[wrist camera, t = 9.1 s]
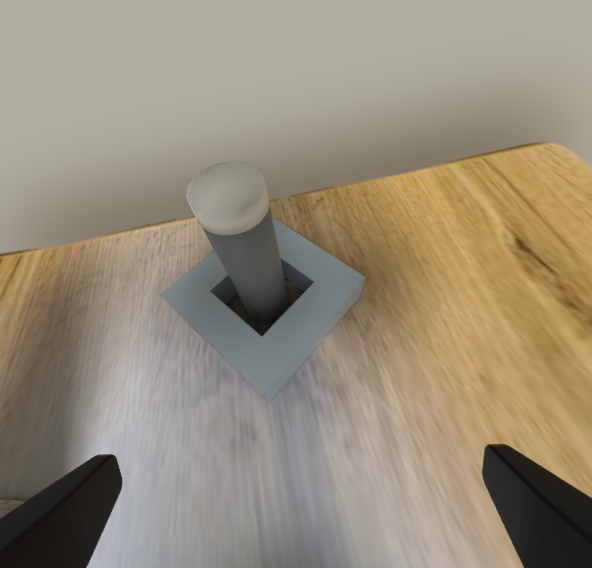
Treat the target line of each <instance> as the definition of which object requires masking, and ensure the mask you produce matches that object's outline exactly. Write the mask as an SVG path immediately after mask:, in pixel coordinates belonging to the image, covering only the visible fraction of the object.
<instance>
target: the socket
mask: <svg viewBox="0 0 592 568" xmlns="http://www.w3.org/2000/svg"><path fill="white" fill-rule="evenodd" d="M272 221H273V226H274V230H275V235H276V240H277V245H278V249H279V254H280V259H281V263H282V268H283V273H284V277H285V278H286V279H288V280H289V281H290V282H292V283H293V284H294V285H296V286H297V287H299V288H300V289H301V290H303V291H304V293H303V294H302V295H301V296H300V297H299V298H298V299H297V301H296V302H295V303H294V304H293V305H292V306H291V307H290V308H289V309H288V310H287V311H286V312H285V313H284V314H283V315H282V316H281V317H280V318H279V319H278V320H277V321H276V323H275V324H274V325H273V326H272V327H271V328H270V329H269V330H268V331H267V332H266V333H265V334H264V335H263V336H262V337H261V336H260V335H259V334H258V333H257V332H256V331H255V330H254V329H252V328H251V327H250V326H249V325H248V324H247V323H246V322H244V321H243V320H242V319H241V318H240V317H239V316H238V315H237V314H235V313H234V312H233V311H232V310H231V309H230V308H229V307H227V306H226V305H225V304H226V303H227V302H228V301H230V300H231V299H232V298H233V297H234V296H235V295H236V294H237V291H236V289H235V287H234V285H233V283H232V282H231V280H230V278H229V276H228V274H227V272H226V270H225V268H224V267H223V265H222V263H221V261H220V259H219V257H218V255H217V253H216V252H215V250H214V251H213V252H212V253H210V254H209V255H208V256H207V257H206V258H204V259H203V260H202V261H201V262H200V263H198V264H197V265H196V266H195V267H194V268H192V269H191V270H190V271H189V272H188V273H187V274H185V275H184V276H183V277H182V278H181V279H179V280H178V281H177V282H176V283H175V284H173V285H172V286H171V287H170V288H169V289H168V290H166V291H165V292H164V293H163V294H162V295H161V296H162V297H163V298H164V299H165V300H166V301H167V302H168V303H169V304H170V305H171V306H172V307H173V308H174V309H175V310H176V311H177V312H178V313H179V314H180V315H181V316H182V317H183V318H184V319H185V320H186V321H187V322H188V323H189V324H190V325H191V326H192V327H193V328H194V329H195V330H196V331H197V332H198V333H199V334H200V335H201V336H202V337H203V338H204V339H205V340H206V341H207V342H208V343H209V344H210V345H211V346H212V347H213V348H214V349H215V350H216V351H217V352H218V353H219V354H220V355H221V356H222V357H223V358H224V359H225V360H226V361H227V362H228V363H229V364H230V365H231V366H232V367H233V368H234V369H235V370H236V371H237V372H238V373H239V374H240V375H241V376H242V377H243V378H244V379H245V380H246V381H247V382H248V383H249V384H250V385H251V386H252V387H253V388H254V389H255V390H256V391H257V392H258V393H259V394H260V395H261V396H262V397H263V398H265V399H266V400H267V401H268V402H269V403H270V401H271V400H272V399H273V398H274V397H275V396H276V394H277V393H278V392H279V391H280V390H281V389H282V387H283V386H284V385H285V384H286V383H287V382H288V380H289V379H290V378H291V377H292V376H293V375H294V373H295V372H296V371H297V370H298V369H299V368H300V366H301V365H302V364H303V363H304V362H305V361H306V359H307V358H308V357H309V356H310V355H311V353H312V352H313V351H314V350H315V349H316V348H317V346H318V345H319V344H320V343H321V342H322V341H323V339H324V338H325V337H326V336H327V335H328V334H329V332H330V331H331V330H332V329H333V328H334V327H335V325H336V324H337V323H338V322H339V321H340V320H341V318H342V317H343V316H344V315H345V314H346V313H347V311H348V310H349V309H350V308H351V307H352V306H353V304H354V303H355V302H356V301H357V300H358V299H359V297H360V296H361V293H362V290H363V286H364V282H365V278H366V277H365V276H363V275H362V274H360V273H359V272H357V271H355V270H354V269H352V268H351V267H349V266H348V265H346V264H345V263H343V262H341V261H340V260H338V259H337V258H335V257H334V256H332V255H331V254H329V253H327V252H326V251H324V250H323V249H321V248H320V247H318V246H317V245H315V244H314V243H312V242H310V241H309V240H307V239H306V238H304V237H303V236H301V235H300V234H298V233H296V232H295V231H293V230H292V229H290V228H289V227H287V226H286V225H284V224H283V223H281V222H279V221H278V220H276V219H275V218H273V217H272Z"/></svg>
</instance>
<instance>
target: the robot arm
mask: <svg viewBox="0 0 592 568" xmlns="http://www.w3.org/2000/svg"><path fill="white" fill-rule="evenodd" d="M482 475H483V480H484V483H485V485H486V488H487V490H488V492H489V494H490V496H491V498H492V500H493V503H494V505H495V507H496V509H497V511H498V513H499V516H500V518H501V520H502V522H503V524H504V526H505V528H506V531H507V533H508V535H509V537H510V539H511V541H512V544H513V546H514V548H515V550H516V552H517V554H518V556H519V558H520V560H521V562H522V564H523V566H524V568H592V498H591V497H589V496H588V495H586V494H584V493H583V492H581V491H580V490H578V489H577V488H575V487H573V486H572V485H570V484H569V483H567V482H565V481H564V480H562V479H561V478H559V477H557V476H556V475H554V474H553V473H551V472H550V471H548V470H546V469H545V468H543V467H542V466H540V465H538V464H537V463H535V462H534V461H532V460H530V459H529V458H527V457H526V456H524V455H523V454H521V453H519V452H518V451H516V450H515V449H513V448H511V447H510V446H508V445H506V444H489V445H487V446H486V447H485V451H484V460H483V469H482ZM121 488H122V476H121V472H120V469H119V465H118V461H117V458H116V457H115V456H114V455H112V454H103V455H96V456H94V457H93V458H91V459H90V460H88V461H87V462H85V463H84V464H82V465H81V466H79V467H77V468H76V469H74V470H73V471H71V472H70V473H68V474H67V475H65V476H64V477H62V478H61V479H59V480H58V481H56V482H55V483H53V484H52V485H50V486H49V487H47V488H46V489H44V490H42V491H41V492H39V493H38V494H36V495H35V496H33V497H32V498H30V499H29V500H27V501H26V502H24V503H23V504H21V505H20V506H18V507H17V508H15V509H14V510H12V511H11V512H9V513H8V514H6V515H4V516H3V517H1V518H0V568H86V567H87V565H88V563H89V561H90V559H91V557H92V555H93V552H94V550H95V548H96V546H97V543H98V541H99V539H100V537H101V534H102V532H103V530H104V528H105V525H106V523H107V521H108V519H109V516H110V514H111V512H112V510H113V507H114V505H115V503H116V501H117V498H118V496H119V494H120V491H121Z"/></svg>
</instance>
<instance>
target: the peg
mask: <svg viewBox="0 0 592 568" xmlns="http://www.w3.org/2000/svg"><path fill="white" fill-rule="evenodd" d="M187 201H188V203H189V205H190V207H191V209H192V211H193V213H194V215H195V216H196V218H197V220H198V222H199V224H200V225H201V226H202V227H203V229H204V231H205V233H206V235H207V237H208V239H209V240H210V242H211V244H212V246H213V248H214V250H215V252H216V253H217V255H218V257H219V259H220V261H221V263H222V265H223V267H224V268H225V270H226V272H227V274H228V276H229V278H230V280H231V282H232V283H233V285H234V287H235V289H236V291H237V293H238V295H239V296H240V298H241V300H242V302H243V304H244V306H245V308H246V310H247V311H248V313H249V315H250V317H251V318H252V319H253V320H255V321H256V322H258V323H261V324H272V323H275V322H276V321H277V320H278V319H279V318H280V317H281V316H282V315H283V314H284V313H285V312H286V311H287V310H288V309H289V304H290V302H289V296H288V292H287V287H286V282H285V278H284V273H283V268H282V263H281V259H280V254H279V249H278V245H277V240H276V235H275V230H274V226H273V221H272V216H271V212H270V207H269V197H268V193H267V188H266V183H265V179H264V176H263V174H262V173H261V171H260V170H259V169H257V168H256V167H255V166H253V165H251V164H248V163H244V162H237V161H231V162H223V163H219V164H216V165H213V166H210V167H208V168H206V169H205V170H203V171H201V172H200V173H199V174H198V175H197V176H196V177H194V179H193V180H192V181H191V183H190V185H189V186H188V189H187Z"/></svg>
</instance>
